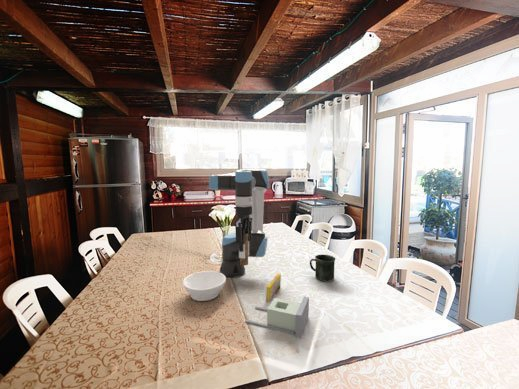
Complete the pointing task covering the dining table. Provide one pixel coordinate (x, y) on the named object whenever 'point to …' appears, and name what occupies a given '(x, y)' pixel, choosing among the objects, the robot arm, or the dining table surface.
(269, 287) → the candy box
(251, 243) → the robot arm
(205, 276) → the bowl
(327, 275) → the mug
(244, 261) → the dowel
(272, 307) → the block
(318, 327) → the dining table surface
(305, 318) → the board
